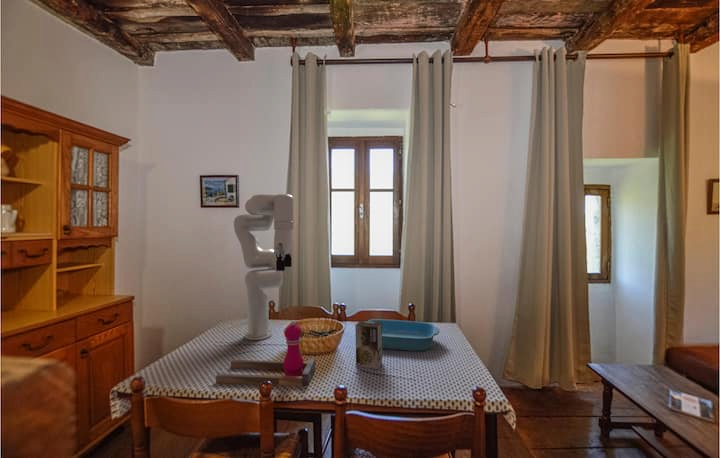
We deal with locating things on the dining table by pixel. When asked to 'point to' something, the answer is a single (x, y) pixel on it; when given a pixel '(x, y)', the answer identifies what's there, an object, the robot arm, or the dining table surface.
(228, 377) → the guide channel
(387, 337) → the casserole dish
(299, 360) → the pepper mill
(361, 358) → the coffee box
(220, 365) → the dining table surface
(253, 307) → the robot arm
